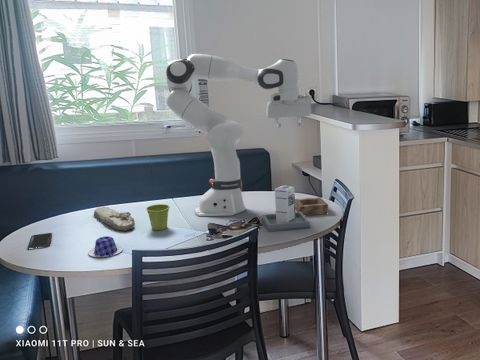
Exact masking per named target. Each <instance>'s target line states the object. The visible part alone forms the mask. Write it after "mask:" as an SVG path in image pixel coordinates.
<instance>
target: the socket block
mask: <svg viewBox="0 0 480 360" xmlns="http://www.w3.org/2000/svg"><path fill="white" fill-rule="evenodd" d="M296 211H297V212H302V213H303V215H307V216H314V215H313V214H319V215H328V214H329V204H328V203H327V202H326V201H325V200H324V199H323V198H322V197H320V196H319V197H308V198H307V197H306V198H295V212H296ZM327 213H328V214H327Z"/></svg>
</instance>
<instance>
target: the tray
mask: <svg viewBox="0 0 480 360" xmlns="http://www.w3.org/2000/svg"><path fill="white" fill-rule="evenodd" d="M295 220H296V221H295V222H293V223H281V224H278V223H276V213H268V214H267V213H266V214H262V222H263V223H264V226H265V227H266V229H267V231H268V232H280V231H292V230H303V229H310V226H311V225H310V224H311V223H310V221H309V220H308V218H307V217H306V216H304V215H303V213H302V212H296V211H295Z"/></svg>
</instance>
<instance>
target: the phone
mask: <svg viewBox="0 0 480 360" xmlns="http://www.w3.org/2000/svg"><path fill="white" fill-rule="evenodd" d="M52 235H53V233H52V232H47V233H39V234H32V235H31V236H30V240H29V242H28V246H27V249H28V248H36V247H37V248H38V247H45V248H47V247H46V246H49V247H51V245H52V240H53V239H52V238H53V236H52ZM50 244H51V245H50ZM38 249H39V248H38Z"/></svg>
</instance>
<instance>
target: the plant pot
mask: <svg viewBox="0 0 480 360" xmlns="http://www.w3.org/2000/svg"><path fill="white" fill-rule="evenodd" d="M170 207H171V206H170V205H168V204H165V203H164V204H163V203H160V204H157V203H156V204H152V205H149V206H147V207H145V210H146V211H147V214H148V217H149V223H150V226H151V229H152V230H154V231H159V230H160V231H163V230H166V229H167V228H168V218H169V216H168V215H169V211H170Z"/></svg>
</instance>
